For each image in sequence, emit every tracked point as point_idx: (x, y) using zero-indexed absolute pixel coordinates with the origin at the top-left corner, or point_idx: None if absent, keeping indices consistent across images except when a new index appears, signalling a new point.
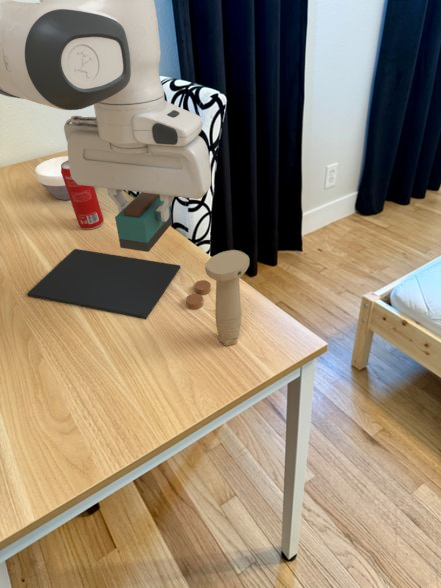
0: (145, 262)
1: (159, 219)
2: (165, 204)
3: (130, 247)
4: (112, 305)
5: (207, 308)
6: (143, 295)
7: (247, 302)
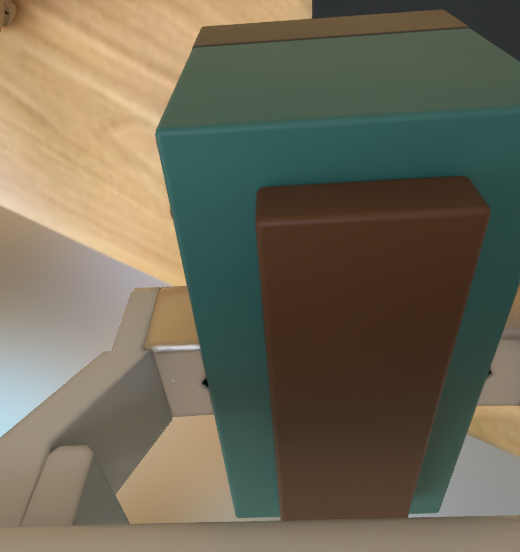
0: None
1: (176, 292)
2: (52, 415)
3: (354, 19)
4: (465, 17)
5: (139, 126)
6: None
7: (45, 190)
